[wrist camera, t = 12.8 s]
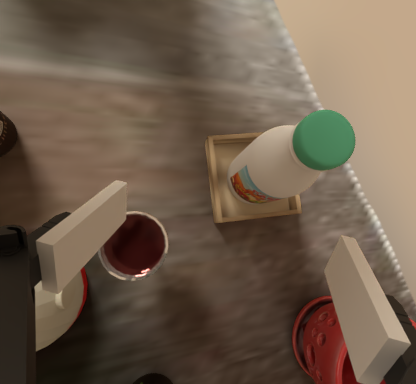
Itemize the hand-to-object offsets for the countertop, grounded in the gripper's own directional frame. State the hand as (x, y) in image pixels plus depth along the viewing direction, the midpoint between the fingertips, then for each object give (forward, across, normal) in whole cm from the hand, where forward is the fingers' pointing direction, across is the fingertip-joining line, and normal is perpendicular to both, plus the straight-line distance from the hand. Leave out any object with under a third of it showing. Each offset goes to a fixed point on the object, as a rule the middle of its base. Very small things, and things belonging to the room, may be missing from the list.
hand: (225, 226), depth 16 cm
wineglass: (+16, -11, -15) cm, 24 cm away
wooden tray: (+24, +2, -6) cm, 25 cm away
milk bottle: (+24, +2, -6) cm, 25 cm away
